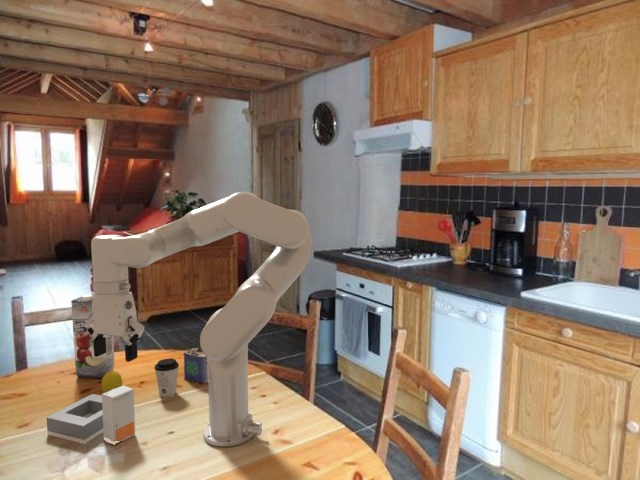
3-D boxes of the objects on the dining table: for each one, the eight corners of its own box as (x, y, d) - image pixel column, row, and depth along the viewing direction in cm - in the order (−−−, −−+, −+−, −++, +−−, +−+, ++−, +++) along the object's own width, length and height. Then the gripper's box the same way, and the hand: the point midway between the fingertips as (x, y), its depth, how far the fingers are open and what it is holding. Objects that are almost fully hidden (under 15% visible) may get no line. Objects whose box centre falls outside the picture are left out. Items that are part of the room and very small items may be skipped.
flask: (209, 382, 144) (208, 349, 143) (203, 385, 142) (202, 352, 141) (188, 376, 149) (187, 344, 148) (181, 379, 146) (180, 347, 145)
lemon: (115, 401, 131) (113, 374, 130) (98, 400, 132) (96, 373, 131) (126, 393, 136) (125, 367, 135) (110, 391, 137) (109, 366, 136)
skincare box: (114, 446, 108) (111, 398, 107) (103, 441, 110) (100, 393, 109) (136, 434, 113) (134, 388, 112) (125, 430, 115) (123, 384, 114)
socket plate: (127, 416, 122) (127, 400, 122) (84, 443, 109) (83, 426, 109) (93, 409, 126) (92, 393, 126) (47, 434, 113) (46, 417, 113)
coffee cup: (164, 401, 131) (163, 368, 130) (150, 395, 135) (149, 362, 134) (184, 393, 136) (183, 360, 135) (170, 387, 141) (169, 355, 140)
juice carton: (89, 368, 156) (85, 290, 153) (118, 369, 154) (114, 291, 151) (71, 378, 147) (66, 296, 144) (102, 380, 145) (97, 297, 143)
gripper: (152, 286, 108) (155, 356, 110) (96, 282, 115) (101, 348, 117) (128, 293, 101) (132, 367, 103) (70, 288, 108) (75, 358, 110)
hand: (115, 357), depth 110 cm, fingers open, 9 cm apart
